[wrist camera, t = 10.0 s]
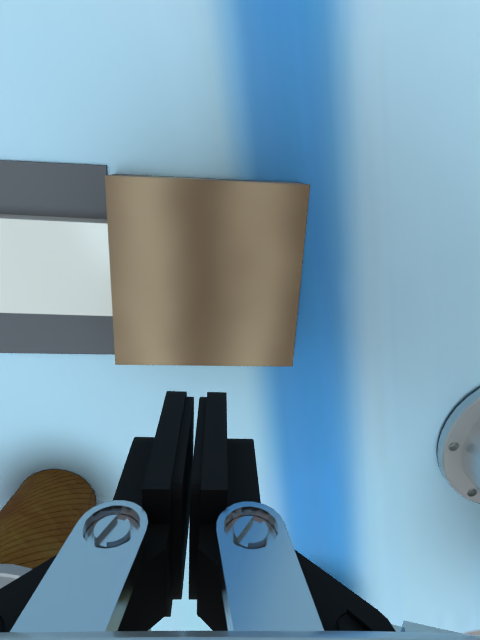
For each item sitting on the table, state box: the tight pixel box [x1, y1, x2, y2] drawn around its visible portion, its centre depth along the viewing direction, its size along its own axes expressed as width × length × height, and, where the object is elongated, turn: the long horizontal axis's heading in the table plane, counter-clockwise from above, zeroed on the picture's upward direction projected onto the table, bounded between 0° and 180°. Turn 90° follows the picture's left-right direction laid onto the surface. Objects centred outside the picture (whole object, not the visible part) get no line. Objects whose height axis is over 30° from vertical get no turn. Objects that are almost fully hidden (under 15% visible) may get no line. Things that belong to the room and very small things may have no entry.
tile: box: [0, 214, 113, 316], centre depth 28 cm, size 8×6×2 cm
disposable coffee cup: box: [0, 469, 96, 589], centre depth 30 cm, size 10×10×12 cm
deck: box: [105, 174, 310, 366], centre depth 29 cm, size 12×12×3 cm
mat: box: [0, 160, 115, 354], centre depth 29 cm, size 12×13×1 cm
